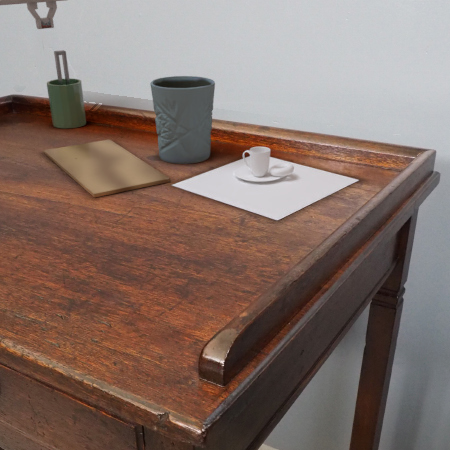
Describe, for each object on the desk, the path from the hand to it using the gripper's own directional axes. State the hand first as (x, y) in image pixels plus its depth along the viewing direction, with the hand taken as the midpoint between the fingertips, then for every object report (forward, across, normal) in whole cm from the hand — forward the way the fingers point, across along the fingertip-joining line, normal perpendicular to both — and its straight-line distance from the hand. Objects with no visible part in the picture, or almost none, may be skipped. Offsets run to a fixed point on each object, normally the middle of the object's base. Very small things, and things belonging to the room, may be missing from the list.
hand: (45, 28), depth 119 cm
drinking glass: (+17, -10, +38) cm, 43 cm away
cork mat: (+17, +4, +36) cm, 40 cm away
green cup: (+17, 0, +8) cm, 18 cm away
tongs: (+10, 0, +8) cm, 12 cm away
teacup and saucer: (+17, -14, +56) cm, 60 cm away
